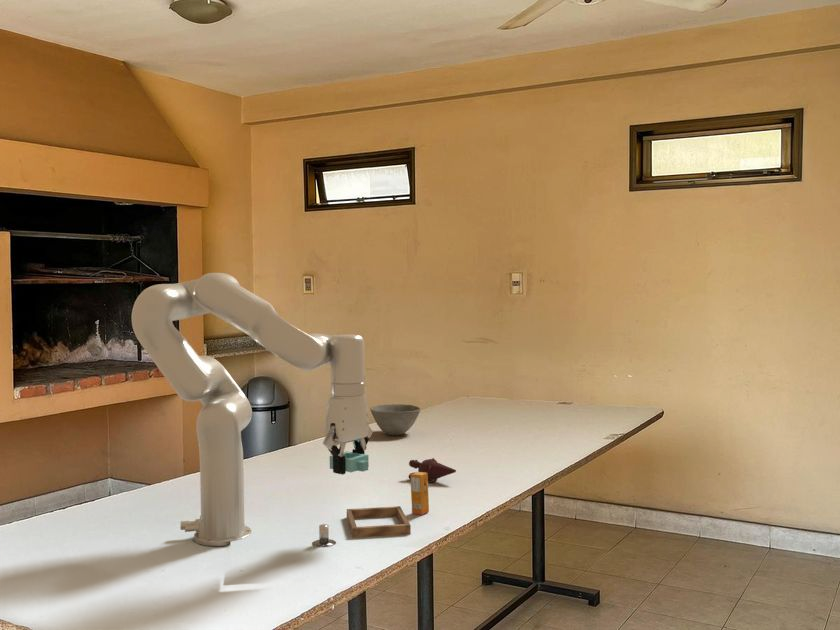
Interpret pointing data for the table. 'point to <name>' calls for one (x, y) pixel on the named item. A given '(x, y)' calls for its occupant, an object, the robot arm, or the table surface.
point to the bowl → (395, 417)
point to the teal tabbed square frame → (353, 462)
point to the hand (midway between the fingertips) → (349, 469)
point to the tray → (378, 530)
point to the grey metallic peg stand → (323, 537)
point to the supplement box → (419, 493)
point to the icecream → (431, 469)
